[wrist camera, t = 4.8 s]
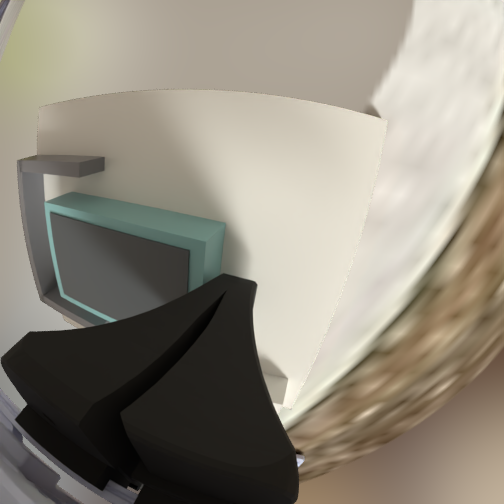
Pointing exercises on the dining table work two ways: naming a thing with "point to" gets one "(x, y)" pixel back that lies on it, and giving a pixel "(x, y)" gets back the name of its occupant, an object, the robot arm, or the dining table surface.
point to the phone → (128, 253)
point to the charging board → (222, 197)
